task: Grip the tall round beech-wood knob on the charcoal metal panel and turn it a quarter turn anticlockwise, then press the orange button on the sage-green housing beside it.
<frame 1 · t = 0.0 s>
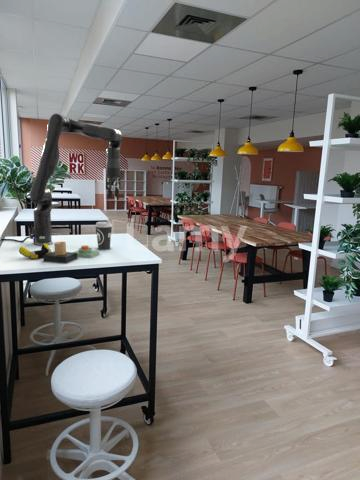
hand: (113, 197, 186), 29 cm above the table, tool pointing down, fingers open, 8 cm apart
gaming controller: (37, 257, 170), on the table
panel: (60, 259, 165), on the table
coffee cup: (104, 249, 193), on the table
button: (85, 247, 175), point 4 cm above the table, slide at 0.1 cm
knob: (60, 248, 164), point 6 cm above the table, hinge at 0.0°
button box: (85, 255, 176), on the table
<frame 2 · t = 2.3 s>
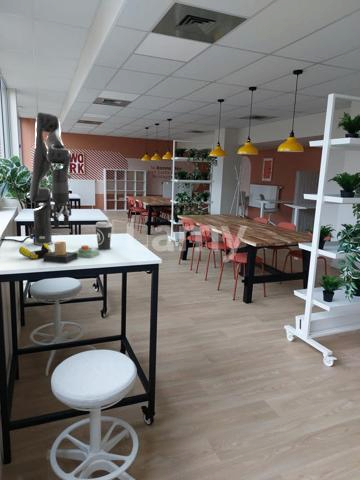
hand: (61, 226, 163), 17 cm above the table, tool pointing down, fingers open, 8 cm apart
nothing on the table moved.
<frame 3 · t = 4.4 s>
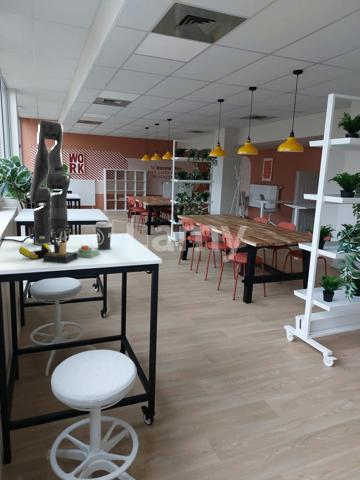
hand: (60, 251, 164), 4 cm above the table, tool pointing down, fingers closed on knob, 5 cm apart
knob: (60, 248, 164), point 6 cm above the table, hinge at 0.2°, touching gripper
everything else where it was.
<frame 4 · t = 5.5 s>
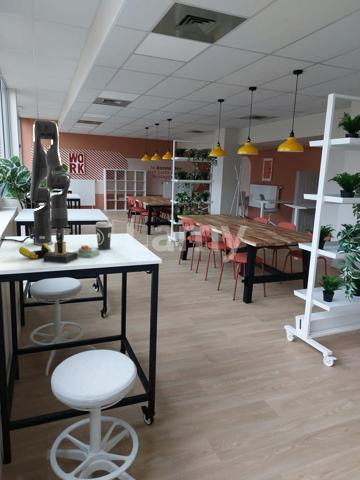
hand: (60, 251, 164), 4 cm above the table, tool pointing down, fingers closed on knob, 5 cm apart
knob: (60, 248, 164), point 6 cm above the table, hinge at 31.8°, touching gripper
everything else where it was.
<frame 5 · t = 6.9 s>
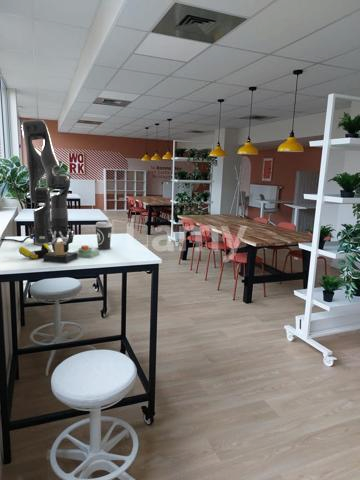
hand: (60, 251, 164), 4 cm above the table, tool pointing down, fingers closed on knob, 5 cm apart
knob: (60, 248, 164), point 6 cm above the table, hinge at 92.6°, touching gripper
everything else where it was.
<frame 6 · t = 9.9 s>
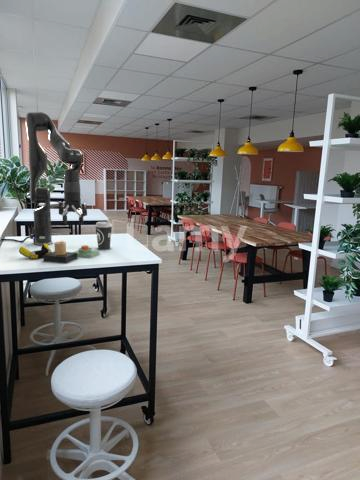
hand: (73, 224, 168), 17 cm above the table, tool pointing down, fingers open, 8 cm apart
knob: (60, 248, 164), point 6 cm above the table, hinge at 93.2°
everything else where it was.
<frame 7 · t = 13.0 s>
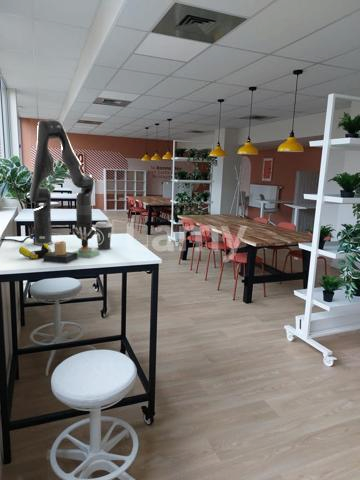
hand: (84, 246, 175), 4 cm above the table, tool pointing down, fingers closed
button: (85, 248, 176), point 4 cm above the table, slide at -0.3 cm, touching gripper
everything else where it was.
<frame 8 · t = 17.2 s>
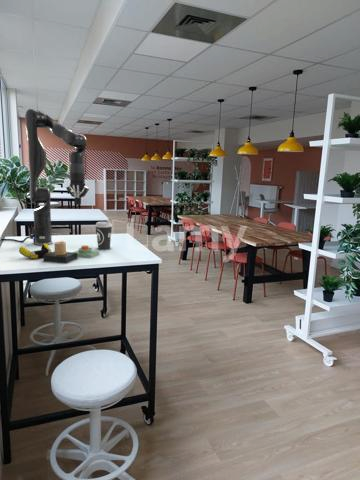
hand: (78, 204, 183), 25 cm above the table, tool pointing down, fingers closed
button: (85, 247, 175), point 4 cm above the table, slide at 0.1 cm
everything else where it was.
at the end: knob at +93° (first picture: +0°); button pushed in 1.1 cm at the most during the clip and back out by the end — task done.
